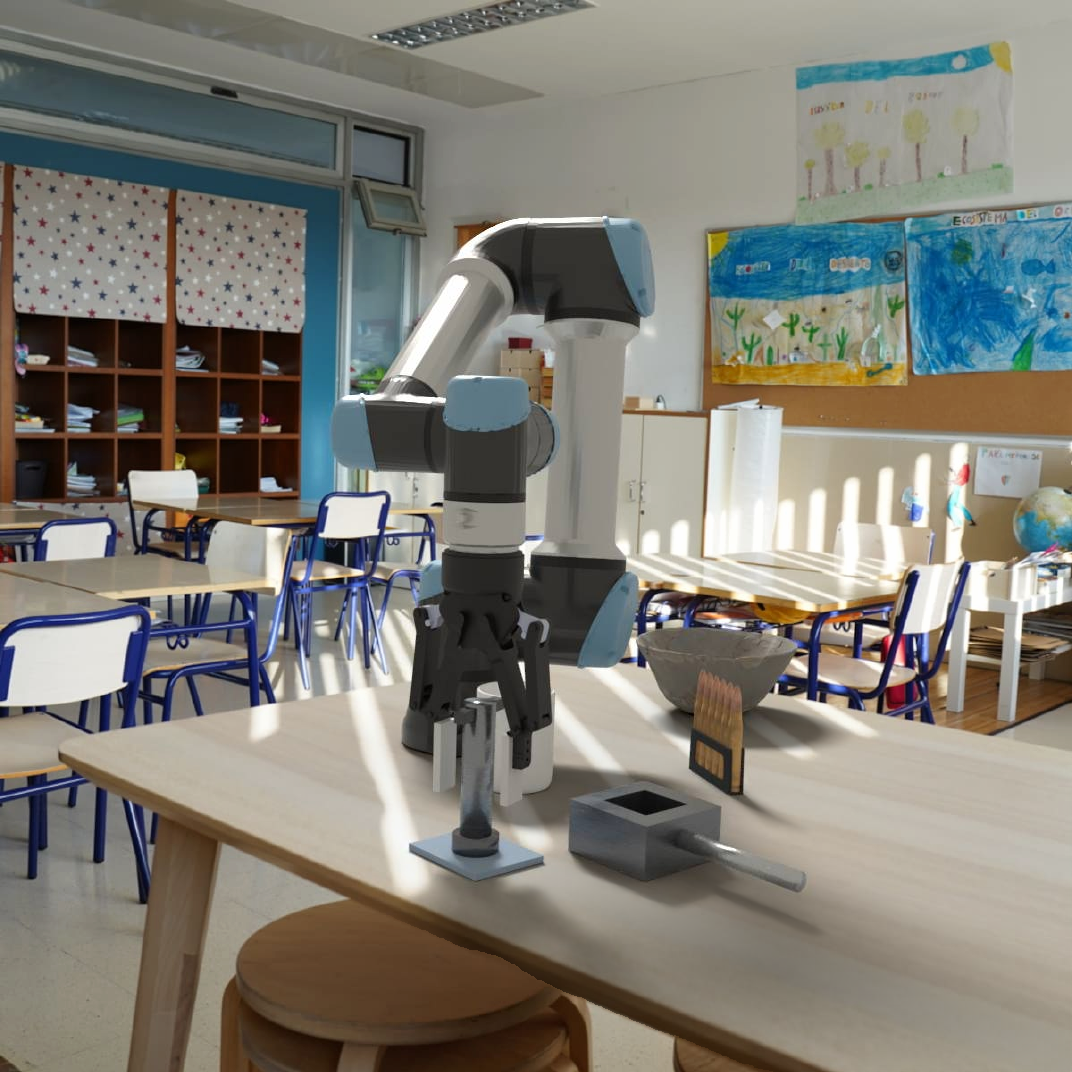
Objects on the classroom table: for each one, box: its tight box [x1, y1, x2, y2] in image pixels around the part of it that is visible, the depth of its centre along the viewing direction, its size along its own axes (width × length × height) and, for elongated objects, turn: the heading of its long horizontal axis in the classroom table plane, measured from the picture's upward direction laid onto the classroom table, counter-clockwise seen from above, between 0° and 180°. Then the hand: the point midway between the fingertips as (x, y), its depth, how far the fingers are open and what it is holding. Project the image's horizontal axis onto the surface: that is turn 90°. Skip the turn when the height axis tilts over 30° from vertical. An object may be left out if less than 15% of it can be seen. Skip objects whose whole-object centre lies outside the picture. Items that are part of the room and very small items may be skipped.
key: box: [451, 696, 504, 858], centre depth 118 cm, size 7×4×14 cm, turn 151°
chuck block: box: [567, 780, 807, 894], centre depth 115 cm, size 23×10×5 cm, turn 41°
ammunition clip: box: [688, 669, 746, 796], centre depth 145 cm, size 11×2×12 cm, turn 17°
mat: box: [408, 832, 545, 882], centre depth 119 cm, size 10×8×1 cm
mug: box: [477, 680, 556, 795], centre depth 143 cm, size 9×12×11 cm
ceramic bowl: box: [635, 626, 798, 714], centre depth 179 cm, size 22×23×10 cm
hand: (477, 794), depth 118 cm, fingers open, 7 cm apart
